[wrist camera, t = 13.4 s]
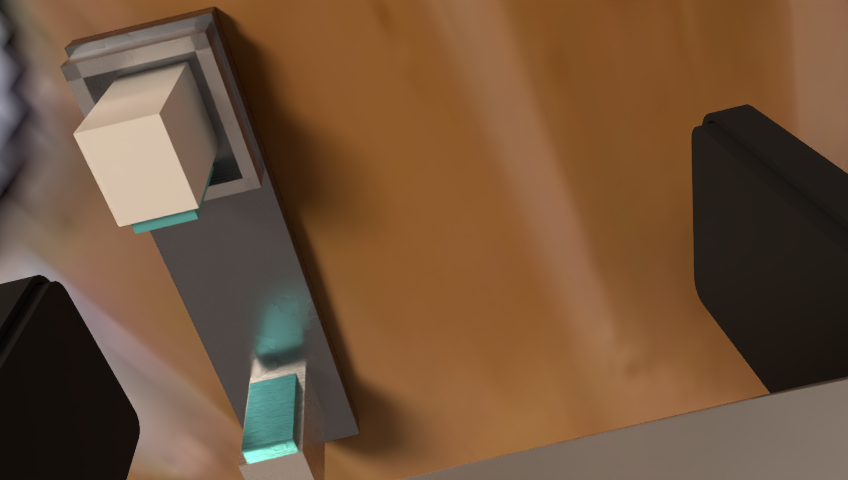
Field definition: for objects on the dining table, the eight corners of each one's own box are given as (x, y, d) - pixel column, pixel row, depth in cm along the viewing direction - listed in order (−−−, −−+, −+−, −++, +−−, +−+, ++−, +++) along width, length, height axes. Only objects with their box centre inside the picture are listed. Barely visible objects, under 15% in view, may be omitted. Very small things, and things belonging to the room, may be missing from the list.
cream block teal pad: (187, 61, 40) (159, 113, 33) (223, 155, 43) (204, 221, 36) (116, 77, 40) (73, 133, 33) (157, 171, 43) (125, 240, 36)
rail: (358, 419, 57) (364, 522, 49) (258, 443, 57) (246, 549, 49) (214, 6, 40) (186, 57, 32) (72, 40, 40) (8, 99, 32)
